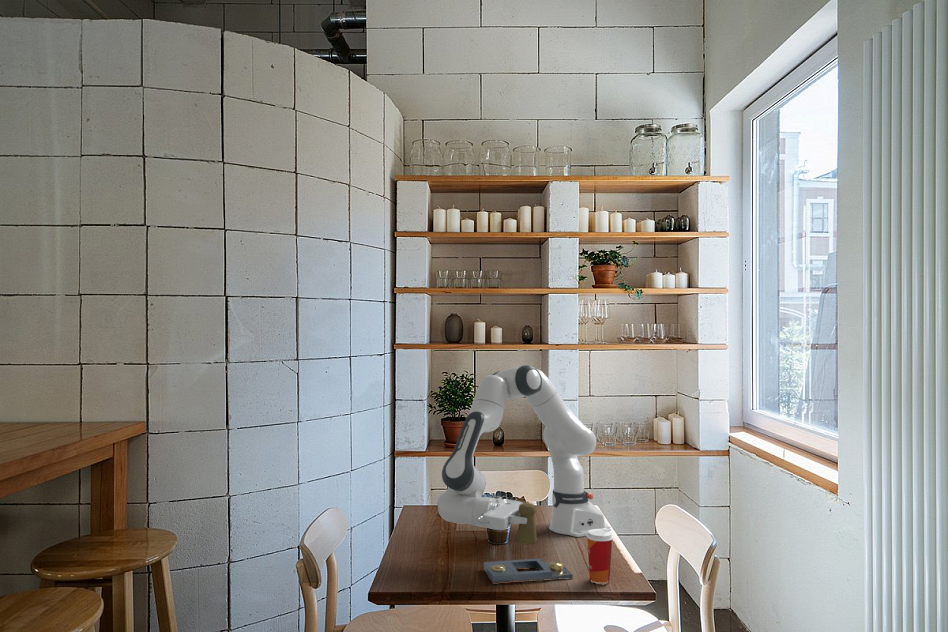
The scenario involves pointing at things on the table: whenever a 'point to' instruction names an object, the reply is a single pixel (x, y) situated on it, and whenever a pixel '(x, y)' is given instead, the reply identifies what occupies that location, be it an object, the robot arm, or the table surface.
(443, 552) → the table surface
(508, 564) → the slotted plate with knobs
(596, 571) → the paper cup
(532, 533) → the olive green pepper mill
